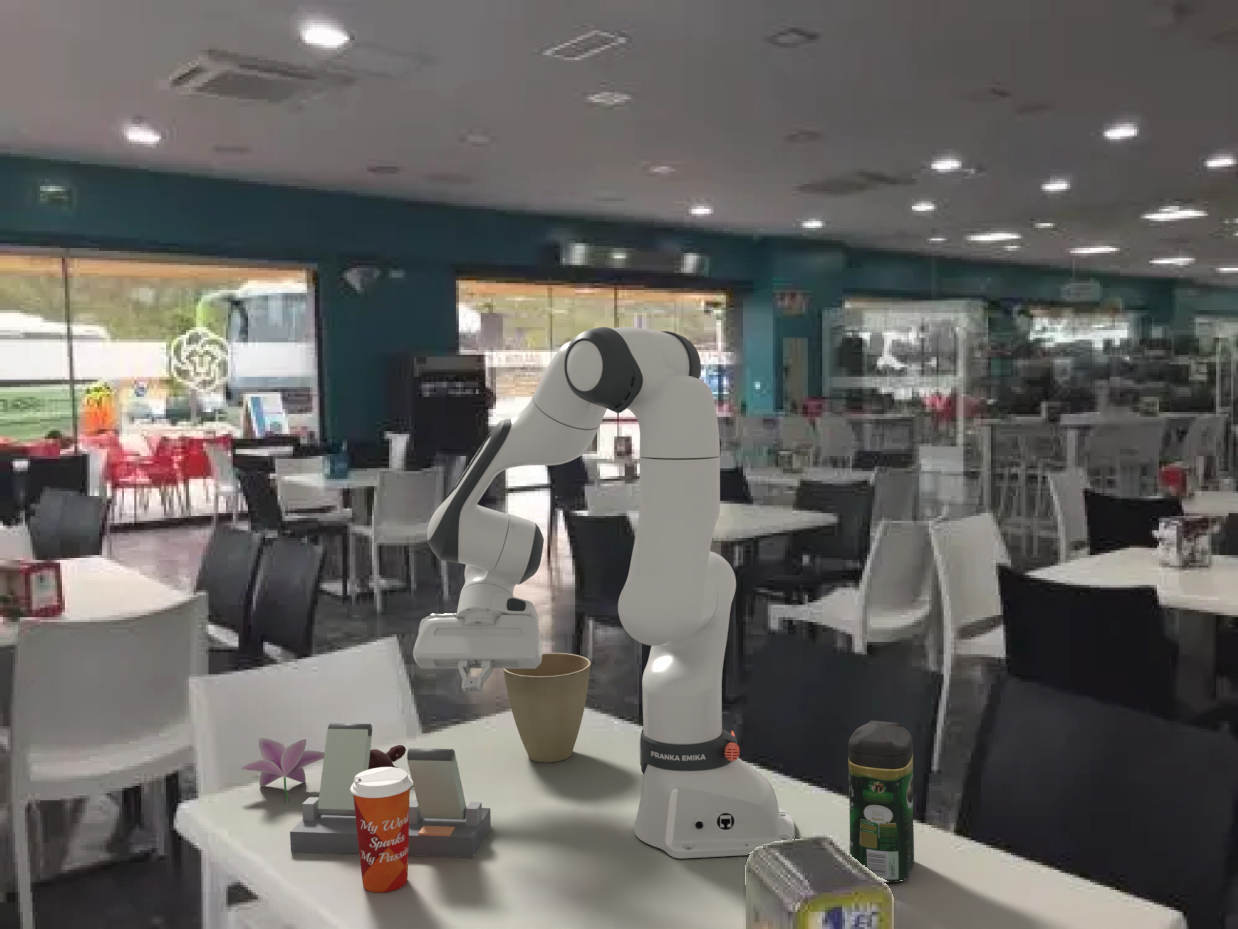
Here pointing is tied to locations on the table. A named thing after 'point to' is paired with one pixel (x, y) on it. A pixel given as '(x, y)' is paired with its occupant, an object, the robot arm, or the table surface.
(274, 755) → the lily
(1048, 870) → the table surface
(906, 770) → the coffee jar
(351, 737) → the lever
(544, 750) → the plant pot
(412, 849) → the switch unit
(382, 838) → the paper cup
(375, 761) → the icecream
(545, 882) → the table surface
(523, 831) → the table surface
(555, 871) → the table surface
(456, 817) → the lever
